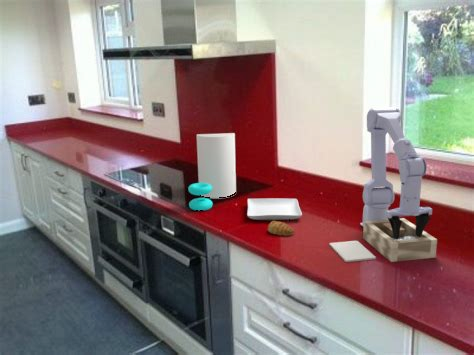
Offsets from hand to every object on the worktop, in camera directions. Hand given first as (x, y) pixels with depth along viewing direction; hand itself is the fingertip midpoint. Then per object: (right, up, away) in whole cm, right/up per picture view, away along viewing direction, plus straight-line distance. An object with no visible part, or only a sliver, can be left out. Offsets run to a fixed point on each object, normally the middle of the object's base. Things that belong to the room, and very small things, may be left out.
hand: (407, 237), depth 150 cm
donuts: (-69, +6, +51) cm, 86 cm away
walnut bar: (-2, +1, +9) cm, 9 cm away
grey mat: (-17, -5, +4) cm, 18 cm away
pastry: (-38, -1, +22) cm, 44 cm away
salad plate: (-39, +4, +43) cm, 58 cm away
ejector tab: (-1, -1, +6) cm, 6 cm away
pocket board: (-1, -4, +6) cm, 7 cm away
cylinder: (-63, +11, +72) cm, 96 cm away
